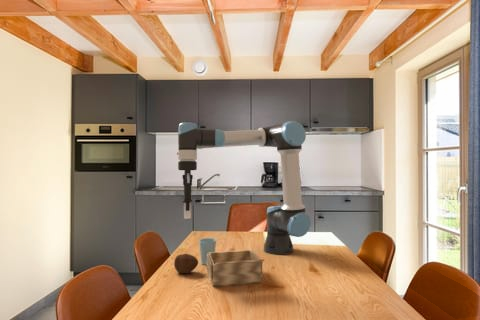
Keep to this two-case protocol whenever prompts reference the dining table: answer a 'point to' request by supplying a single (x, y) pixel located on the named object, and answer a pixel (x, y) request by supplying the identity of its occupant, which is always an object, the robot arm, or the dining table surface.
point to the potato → (185, 263)
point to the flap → (238, 262)
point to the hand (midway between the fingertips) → (187, 218)
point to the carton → (233, 268)
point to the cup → (206, 248)
